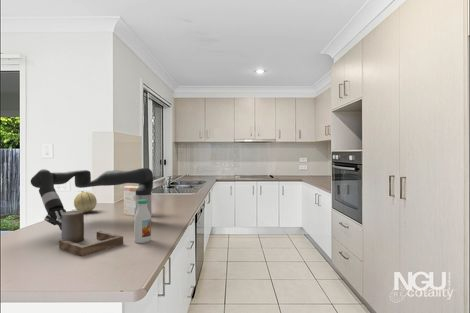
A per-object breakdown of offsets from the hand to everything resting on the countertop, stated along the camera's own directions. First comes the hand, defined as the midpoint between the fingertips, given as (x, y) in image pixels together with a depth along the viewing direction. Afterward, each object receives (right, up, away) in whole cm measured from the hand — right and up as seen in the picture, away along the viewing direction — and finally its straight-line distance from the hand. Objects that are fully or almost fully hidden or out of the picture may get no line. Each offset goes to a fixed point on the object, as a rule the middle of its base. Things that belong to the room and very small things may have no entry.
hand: (64, 230), depth 147 cm
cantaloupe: (-23, -4, +65) cm, 69 cm away
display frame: (+18, -5, -10) cm, 21 cm away
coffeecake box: (+15, -4, +58) cm, 60 cm away
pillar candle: (+5, -5, -2) cm, 7 cm away
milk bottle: (+39, -5, -2) cm, 40 cm away
